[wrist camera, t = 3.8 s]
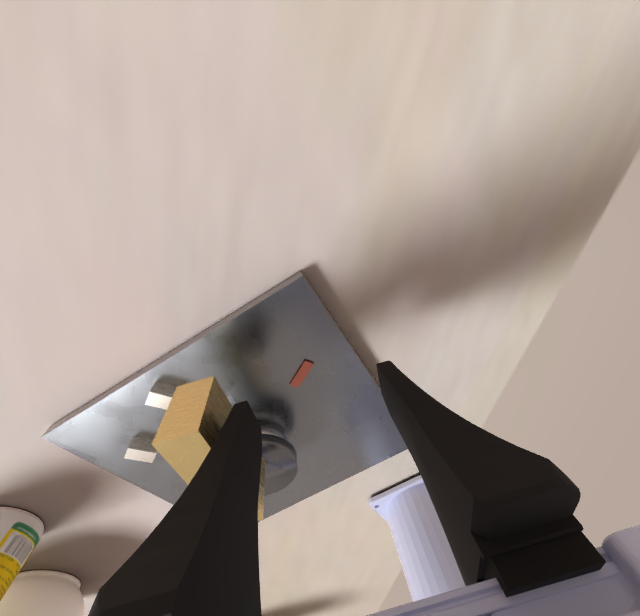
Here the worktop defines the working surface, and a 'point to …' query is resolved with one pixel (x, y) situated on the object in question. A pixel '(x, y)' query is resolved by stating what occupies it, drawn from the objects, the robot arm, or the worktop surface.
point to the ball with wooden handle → (202, 430)
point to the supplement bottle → (16, 542)
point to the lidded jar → (43, 595)
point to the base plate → (249, 398)
